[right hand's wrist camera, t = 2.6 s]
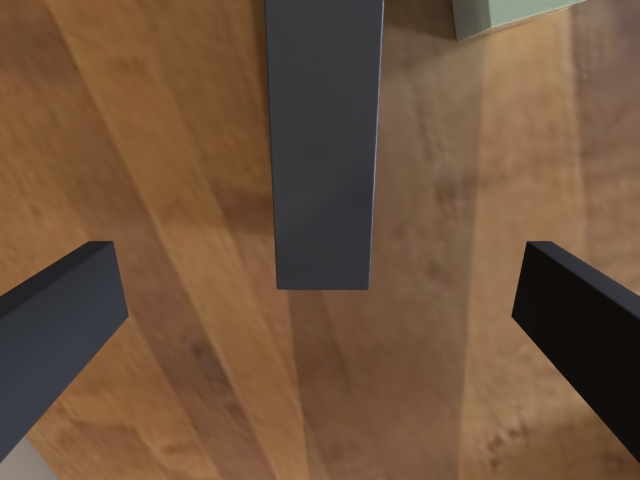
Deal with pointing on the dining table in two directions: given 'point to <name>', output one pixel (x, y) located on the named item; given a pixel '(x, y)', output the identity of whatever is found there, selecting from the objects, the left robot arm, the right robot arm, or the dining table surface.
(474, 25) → the sage cube
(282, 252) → the bar
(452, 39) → the dining table surface
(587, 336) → the right robot arm
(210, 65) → the dining table surface
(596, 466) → the dining table surface
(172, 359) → the dining table surface
